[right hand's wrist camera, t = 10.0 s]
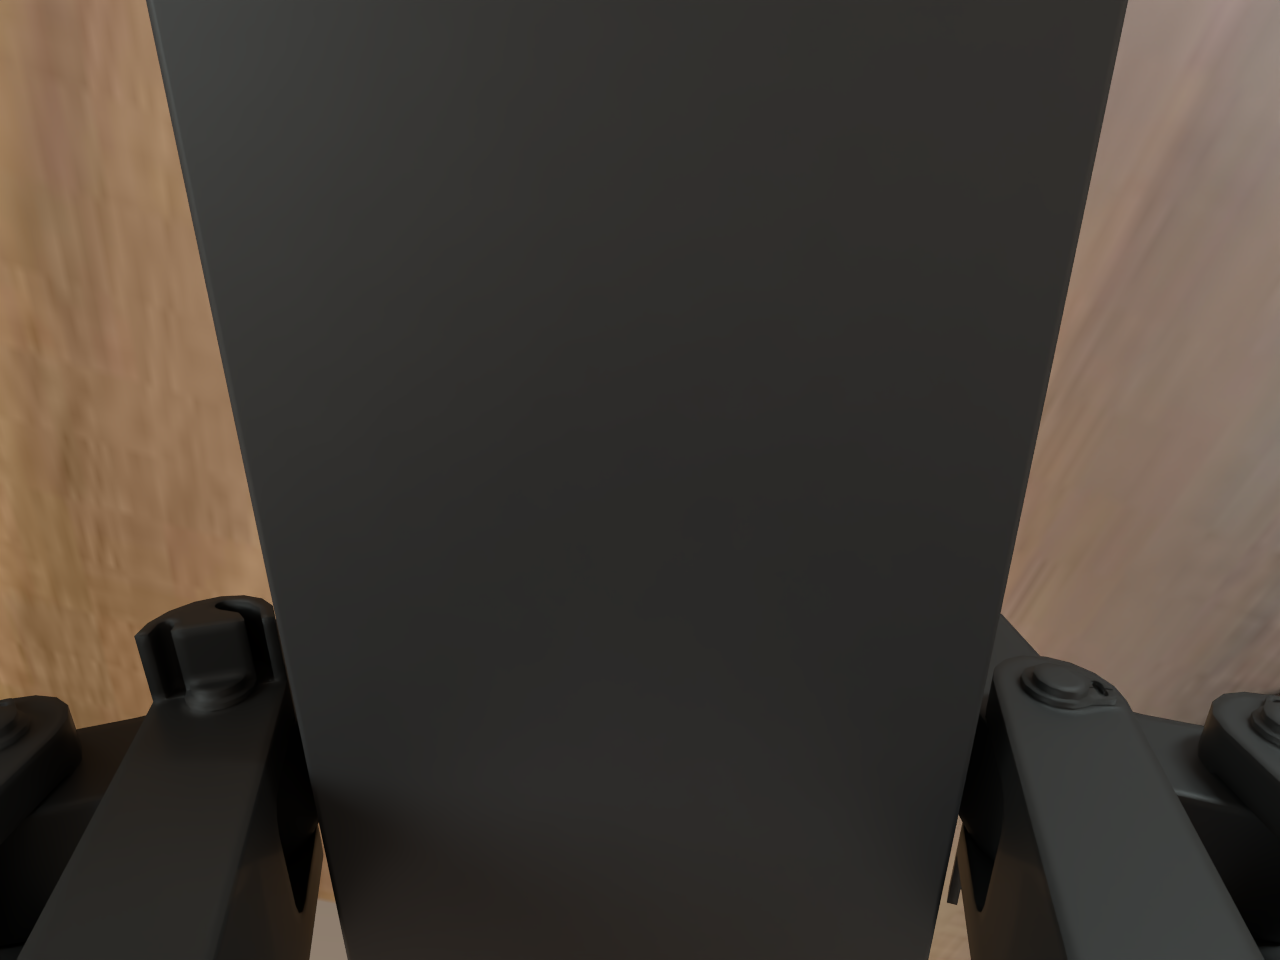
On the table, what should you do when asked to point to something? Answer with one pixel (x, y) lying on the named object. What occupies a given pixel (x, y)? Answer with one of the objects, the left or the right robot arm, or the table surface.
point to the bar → (637, 438)
